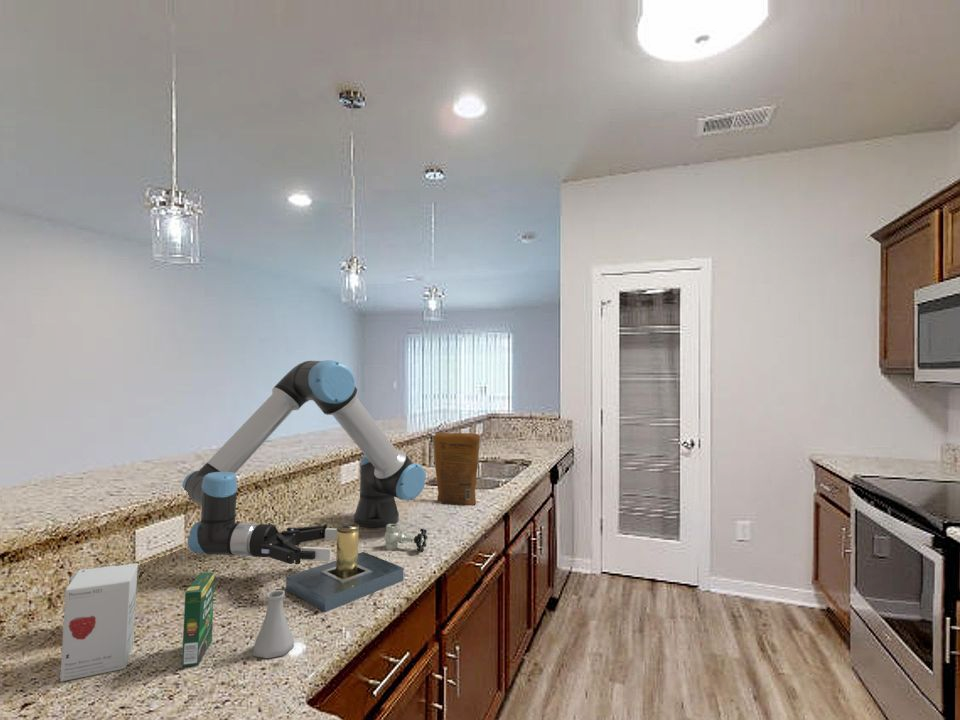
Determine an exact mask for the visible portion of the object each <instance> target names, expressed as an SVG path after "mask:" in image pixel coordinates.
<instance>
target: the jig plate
mask: <svg viewBox="0 0 960 720" xmlns="http://www.w3.org/2000/svg"><path fill="white" fill-rule="evenodd" d="M285 579H286V580H285V590H286V591H287V592H289V593H291V594H292V595H294V596H296V597H298V598H300V599H301V600H303V601H305V602H307V603H309V604H310V605H312V606H314V607H316V608H317V609H319V610H320V611H322V612H325V613H326V612H329V611H330V610H333V609H336V608H338V607H341V606H343V605H346V604H348V603H351V602H353V601H356V600H359V599H361V598H363V597H366V596H368V595H370V594H373V593H375V592H379V591H381V590H383V589H385V588H387V587H391V586H392V585H395V584H397V583H400V582H403V581H404V567H402V566H400V565H398V564H394V563H392V562H390V561H387V560H385V559H382V558H381V557H378V556H375V555H373V554H370V553H367V552H365V551H362V552H358V564H357V575H354V576H351V577H349V578H346V579H341V578H339V577H337V576H336V560H334V561H330V562H327V563H324V564H321V565H318V566H315V567H313V568H312V567H311V568H308V569H305V570H303V571H299V572H296V573H292V574H290V575H287V576H286V577H285ZM402 580H403V581H402ZM380 589H381V590H380Z"/></svg>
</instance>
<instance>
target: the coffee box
mask: <svg viewBox="0 0 960 720" xmlns="http://www.w3.org/2000/svg"><path fill="white" fill-rule="evenodd" d="M214 589H215V572H200V573H198V574H197V576H196V577H195V579H194V580H193V581H192V583H191V584H190V586H189V587H188V588H187V589H186V590H185V592H184V608H183V609H184V610H183V611H184V613H183V635H182V658H181V659H182V661H181V667H182V668H185V667H186V668H187V667H196V666H199V665H200V663H201V661H202V659H203V658H204V656H205V654H206V652H207V651H208V649H209V648H210V645H211V644H212V642H213V619H214V617H213V614H214V593H215V590H214Z"/></svg>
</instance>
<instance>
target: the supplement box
mask: <svg viewBox="0 0 960 720" xmlns="http://www.w3.org/2000/svg"><path fill="white" fill-rule="evenodd" d="M107 566H108V567H102V566H101V567H102V568H95V567H93V568H94V569H91V568H88V569H87V568H86V569H79V570H78V571H77V572H76V573H77V574H76V573H75V574H76V575H75V577H74V578H73V580H72V581H71V583H70V584H69V583H68V585H67V587H66V588H65V591H64V592H65V593H64V607H63V608H64V609H63V626H62V628H63V629H62V643H61V644H62V645H61V658H60V659H61V661H60V676H59V677H60V678H59V679H60V680H59V681H60V683H62V682H65V681H70V680H75V679H81V678H85V677H92V676H96V675H101V674H105V673H111V672H116V671H121V670H125V669H126V668H127V665H128V663H129V658H130V655H131V652H132V648H133V646H134V637H135V635H134V634H135V620H136V601H137V600H136V598H137V583H138V568H139V563H136V562H135V563H128V564H119V565H107Z"/></svg>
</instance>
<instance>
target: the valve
mask: <svg viewBox="0 0 960 720" xmlns="http://www.w3.org/2000/svg"><path fill="white" fill-rule="evenodd" d="M427 531H428V530H427V529H425V528H420V529H419V532H421V533H417V535H415V536H413V535H406V533H405V532H399V525H398V524H397V523H395V524H388V525H386V526H385V533H384V541H385V550H389V551H390V550H391V551H394V550H397V549H398V544H404V543H405V542H407V543H412V542H413V543H414V544H415V546H416V547H417V548H416V551H417V552H419V553H424V552H423V551H425V548H426V547H427V542H426V541H427V540H428V535H427Z"/></svg>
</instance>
